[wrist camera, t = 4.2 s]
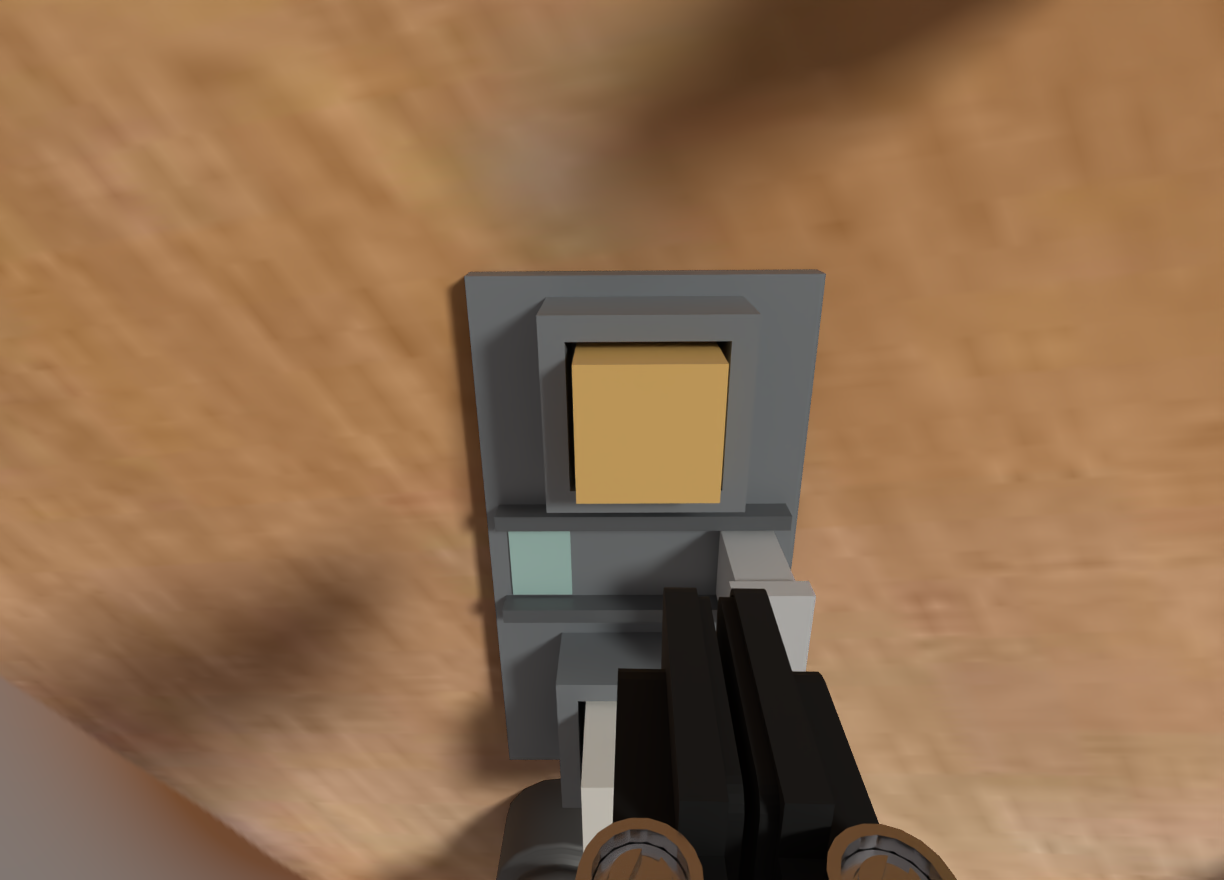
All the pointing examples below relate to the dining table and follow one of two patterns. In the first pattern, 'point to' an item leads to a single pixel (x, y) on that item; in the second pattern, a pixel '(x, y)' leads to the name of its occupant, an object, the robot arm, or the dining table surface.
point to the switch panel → (621, 533)
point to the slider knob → (769, 586)
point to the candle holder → (541, 836)
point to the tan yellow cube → (649, 421)
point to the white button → (598, 767)
